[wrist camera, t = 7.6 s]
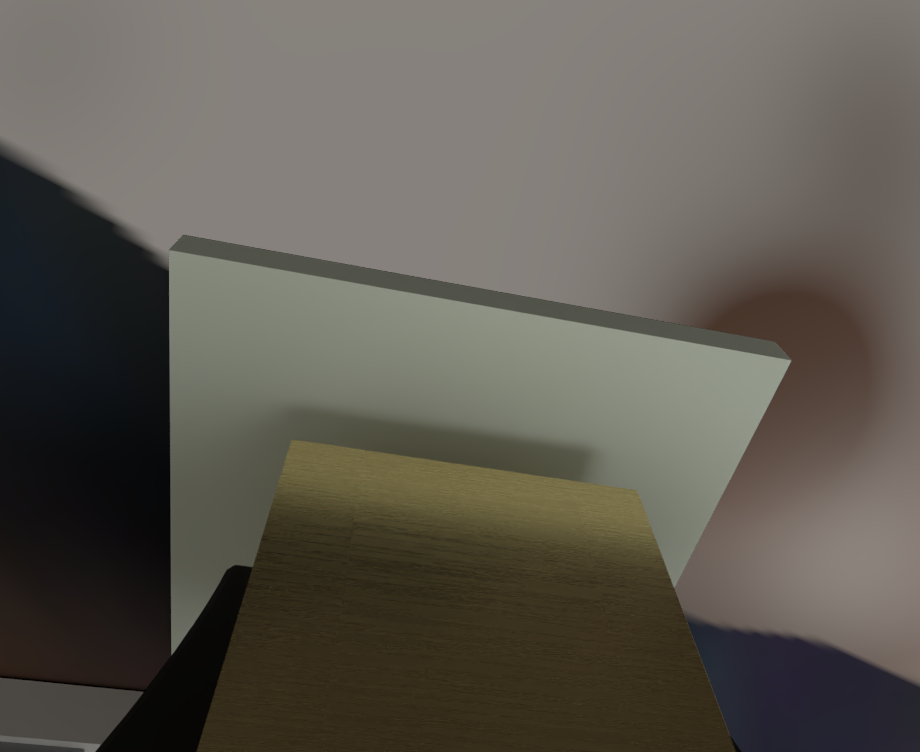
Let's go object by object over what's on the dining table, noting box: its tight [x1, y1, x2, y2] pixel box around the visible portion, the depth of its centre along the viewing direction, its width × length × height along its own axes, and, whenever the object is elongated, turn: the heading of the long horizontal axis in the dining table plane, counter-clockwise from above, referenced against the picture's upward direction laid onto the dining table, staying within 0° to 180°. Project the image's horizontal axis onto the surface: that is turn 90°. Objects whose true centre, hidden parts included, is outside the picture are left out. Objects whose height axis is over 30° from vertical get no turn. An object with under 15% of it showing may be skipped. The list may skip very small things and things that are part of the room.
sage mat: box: [169, 235, 791, 655], centre depth 12 cm, size 9×9×1 cm
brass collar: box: [197, 439, 736, 752], centre depth 9 cm, size 5×5×5 cm
